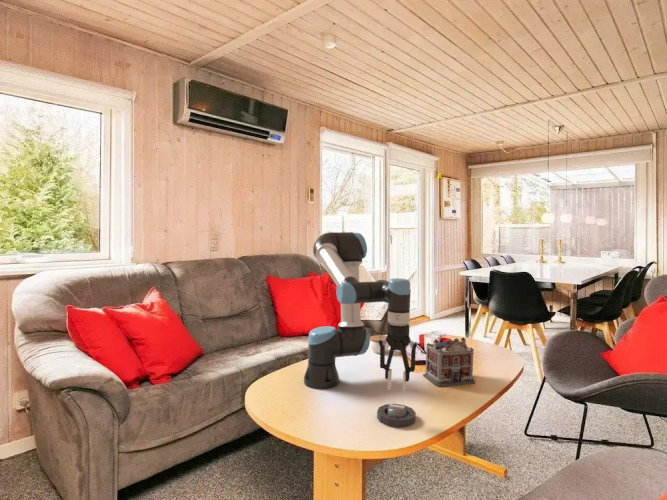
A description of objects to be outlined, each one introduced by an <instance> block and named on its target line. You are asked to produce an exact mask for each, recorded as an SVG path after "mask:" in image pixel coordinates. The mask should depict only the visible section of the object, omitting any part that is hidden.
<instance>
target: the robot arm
mask: <svg viewBox="0 0 667 500" xmlns="http://www.w3.org/2000/svg"><path fill="white" fill-rule="evenodd" d="M312 248H313V249H312V250H313V251H312V252H313V255H314V258H315V259H316V261H317V262H319V263H320V264H322V265H323V267H324V269H325V270H326V272H327V274H328V275H329V276H330V277H331V279H332V280H333V282H334V284H335V285H336V288H335V291H336V295H335V296H336V299H337V301H338V303H340V322H338V324H337V329H336V327H334V326H330V325H329V326H326V325H325V326H319V327H315V328H313V329H311V330H310V331H309V333H308V341H307V345H308V350H307V351H308V353H307V354H308V357H307V358H308V360H307V362H308V363H307V367H306V369H305V374H304V375H303V384H304V385H305V386H306V387H309V388H312V389H320V390H321V389H330V388H335V387H336V386H338V385H339V384H340V376H339V372H338V369H337V366H336V358H343V357H352V356H353V357H354V356H356V357H357V356H359V355H364V354H366V352H368V349H369V347H370V337H371V336H370V331H369V330H368V328H367V327H365V323H364V322H363V321H362V320H361V319H362V318H361V317H362V316H361V304H363V303H364V304H367V303H368V304H369V303H371V304H372V303H387V331H386V332H387V335H386V336H387V337H386V338H385V339H380V340H379V345H380V354H379V356H380V357H379V368H381V369H383V370H384V371H385V372H384V379H385V380H387V390H391V389H392V374H393V373H392V369H393V368H390V367H391V363H392V359H393V355H394V353H395V351H400V353H401V357H402V361H403V366H404V370H403V371H402V374H403V375H402V392H406V389H407V382H409V381H410V373H412V372H414V371H415V370H416V353H417V352H416V350H417V347H418V344H419V343H418V342H417V341H414V340H413V341H412V340H411V337H410V324H409V323H410V321H411V320H410V317H411V315H410V313H411V311H410V310H411V291H412V290H411V281H410V280H409V279H407V278H398V277H397V278H391V279H389V280H386V279H377V280H376V281H360V266H361V264H362V263H363V259H365V258H366V256H367V252H368V246H367V241H366V238H365V237H364V236H363V235H362V234H361V233H360V232H354V231H352V232H351V231H350V232H345V231H344V232H332V231H331V232H330V231H329V232H325V233H323V234H322V235H320V236H318V237H317V239H316V240H315V242H314V243H313V247H312ZM386 342H387V343H388V344H389V353H388V356H387V360H386V359H385V358H386V356H385V355H386V352H385V344H386ZM409 345H410V348H411V350H410V351H411V352H410V363H409V358H408V355H407V349H406V348H407V347H408V346H409Z"/></svg>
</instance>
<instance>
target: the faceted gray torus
mask: <svg viewBox="0 0 667 500" xmlns="http://www.w3.org/2000/svg"><path fill="white" fill-rule="evenodd" d="M390 404H392V405H394V404H396V405H402V406H405V408H406V416H404V417H393V416H389V415H388V406H390ZM416 414H417V413H416V411H415V410H414V408H412V407H409V406H407V405H405V404H398V403H387V404H386V403H385V404H382V405H380V406H378V409H377V411H376V419H377V420H378V422H379V423H380V422H381V423H380V424H382V423H383V425H385V426H387V427H390V428H391V427H393V428H397V427H398V428H399V429H400V428H408V427H410V426H412V425H415V423H416ZM398 428H397V429H398Z"/></svg>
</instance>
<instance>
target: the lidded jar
mask: <svg viewBox="0 0 667 500" xmlns="http://www.w3.org/2000/svg"><path fill="white" fill-rule="evenodd" d="M386 337H387V335H381V334H378V335H371V336H370V344H369V347H370V349H371V350H372V352H373V353H374V354H378V355H380V345H379V340H380V339H385V338H386ZM389 349H390V346H389V344H388V343H387V342H386V344H385V353H386V352H387V351H388V350H389Z"/></svg>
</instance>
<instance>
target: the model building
mask: <svg viewBox="0 0 667 500" xmlns="http://www.w3.org/2000/svg"><path fill="white" fill-rule="evenodd" d="M466 341H467V340H466V338H465V337H461V339H460V340H459V338H456V337H455V338H454V339H453V340H445V341H441V342H439V341H438V339H434V340H433V343H430V342H427V343H426V347H425V348H426V352H425V353H426V354H425V355H426V356H425V371H424V373H423V374H422V376H423V377H424V378H425V379H426V380H428V381H429V382H431V384H433V385H434V386H436V387H438V388H444V387H445V388H446V387H455V386H463V385H473V384H475V385H476V383H477V382H476V381H475V380H474V376H473V372H474V354H475V353H474V350H475V349H473V347H472V346H471V347H469V346H468V344H466Z"/></svg>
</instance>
